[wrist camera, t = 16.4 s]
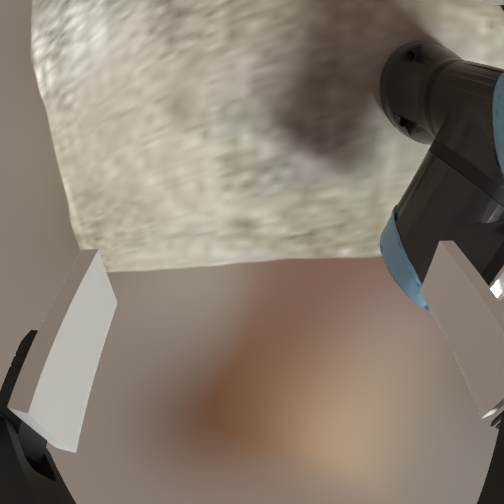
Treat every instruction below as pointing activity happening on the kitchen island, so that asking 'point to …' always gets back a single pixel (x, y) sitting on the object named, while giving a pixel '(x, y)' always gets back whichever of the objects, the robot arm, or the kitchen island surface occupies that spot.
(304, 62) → the kitchen island surface
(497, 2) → the grey compartment tray
